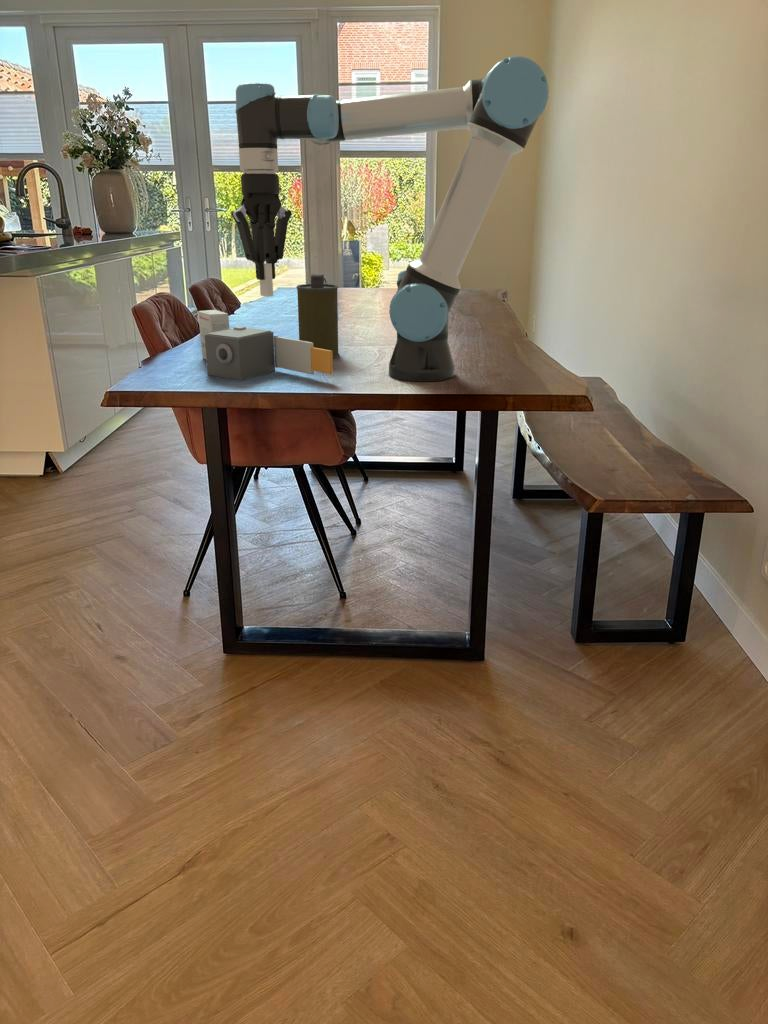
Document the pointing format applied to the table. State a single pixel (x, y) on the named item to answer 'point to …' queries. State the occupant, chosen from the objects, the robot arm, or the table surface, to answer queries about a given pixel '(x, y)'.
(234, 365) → the camera body
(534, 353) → the table surface
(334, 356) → the canister
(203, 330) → the ink box
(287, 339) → the side door
